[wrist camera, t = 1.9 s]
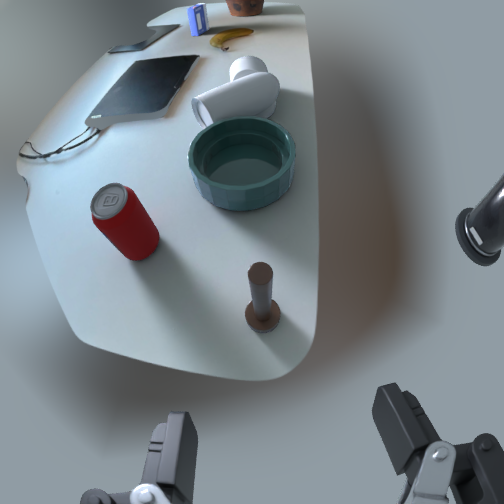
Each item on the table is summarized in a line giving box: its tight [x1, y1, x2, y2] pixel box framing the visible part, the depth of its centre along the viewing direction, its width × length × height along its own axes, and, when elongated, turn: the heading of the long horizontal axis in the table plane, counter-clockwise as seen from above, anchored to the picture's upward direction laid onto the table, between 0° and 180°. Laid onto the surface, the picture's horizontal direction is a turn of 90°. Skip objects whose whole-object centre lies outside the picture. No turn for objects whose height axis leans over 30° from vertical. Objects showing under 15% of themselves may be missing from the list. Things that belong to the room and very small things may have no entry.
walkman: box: [187, 3, 209, 36], centre depth 74 cm, size 8×3×12 cm, turn 155°
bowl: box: [188, 116, 296, 211], centre depth 45 cm, size 17×17×6 cm
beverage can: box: [90, 183, 159, 261], centre depth 38 cm, size 7×7×12 cm
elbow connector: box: [192, 56, 280, 130], centre depth 52 cm, size 18×10×20 cm
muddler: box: [245, 262, 280, 333], centre depth 30 cm, size 4×4×16 cm
